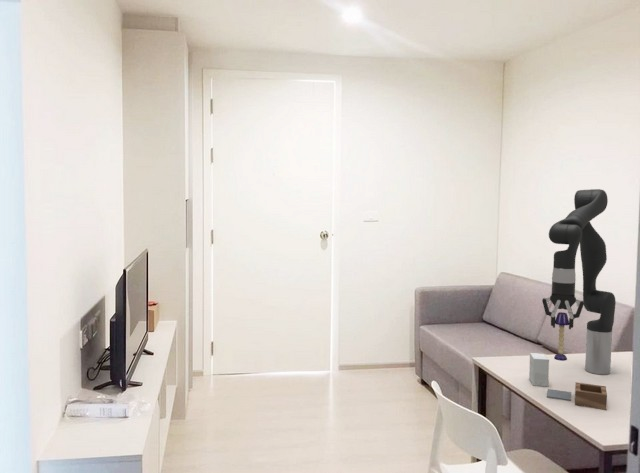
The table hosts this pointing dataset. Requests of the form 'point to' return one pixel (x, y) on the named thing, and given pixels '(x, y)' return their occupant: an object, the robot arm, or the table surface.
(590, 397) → the wooden cube shelf
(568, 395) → the slate pad
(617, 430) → the table surface
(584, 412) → the table surface
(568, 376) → the table surface
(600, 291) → the robot arm
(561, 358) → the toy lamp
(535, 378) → the small box
